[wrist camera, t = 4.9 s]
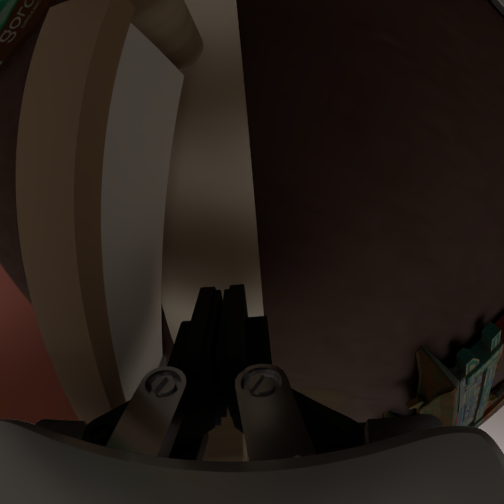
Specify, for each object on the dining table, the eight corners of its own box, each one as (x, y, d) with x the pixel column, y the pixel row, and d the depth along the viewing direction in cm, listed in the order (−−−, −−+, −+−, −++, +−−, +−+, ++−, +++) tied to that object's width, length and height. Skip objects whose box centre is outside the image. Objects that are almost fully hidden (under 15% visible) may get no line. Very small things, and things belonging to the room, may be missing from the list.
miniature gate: (550, 363, 17) (402, 492, 21) (532, 346, 22) (391, 465, 26) (584, 212, 8) (356, 453, 12) (549, 198, 14) (333, 394, 17)
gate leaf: (152, 70, 8) (49, 7, 2) (190, 71, 9) (116, -13, 2) (141, 368, 14) (107, 464, 8) (166, 374, 14) (140, 474, 8)
